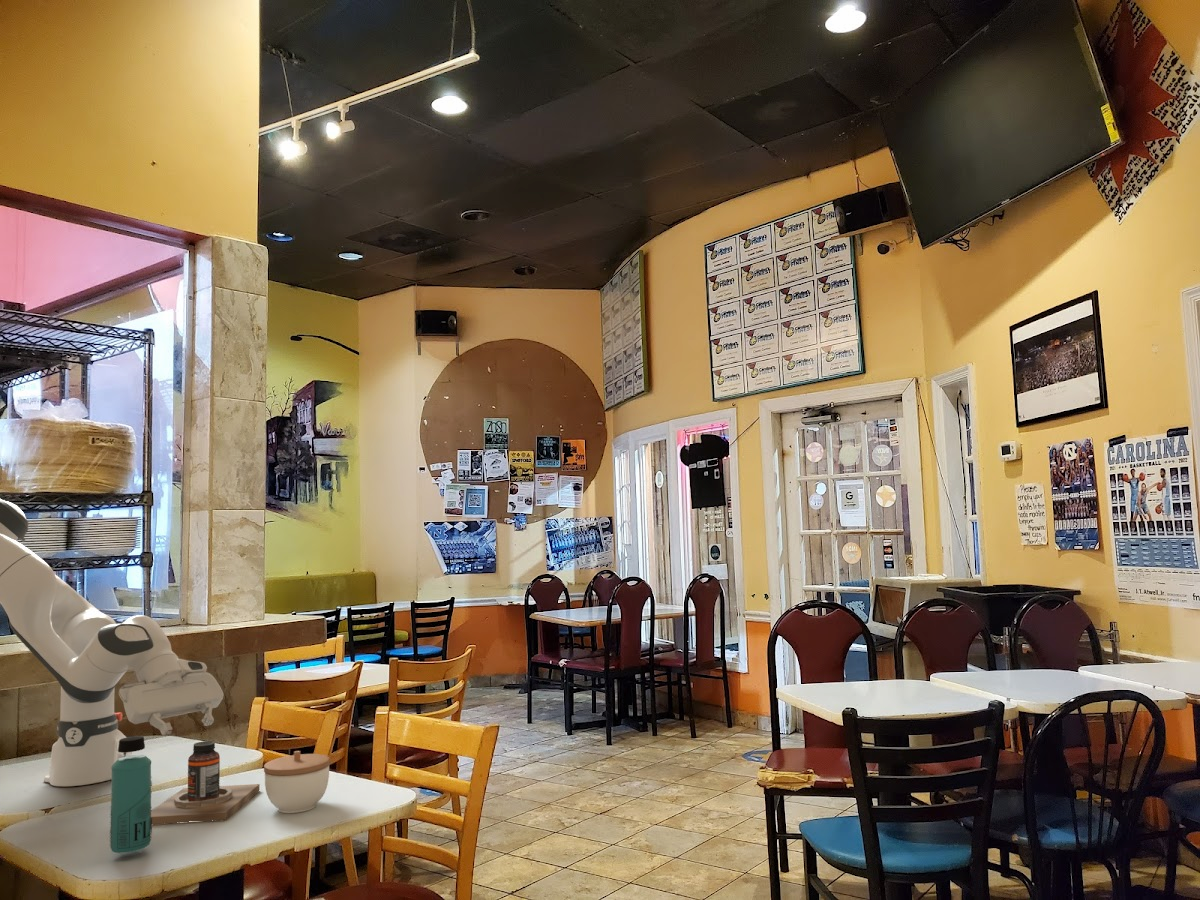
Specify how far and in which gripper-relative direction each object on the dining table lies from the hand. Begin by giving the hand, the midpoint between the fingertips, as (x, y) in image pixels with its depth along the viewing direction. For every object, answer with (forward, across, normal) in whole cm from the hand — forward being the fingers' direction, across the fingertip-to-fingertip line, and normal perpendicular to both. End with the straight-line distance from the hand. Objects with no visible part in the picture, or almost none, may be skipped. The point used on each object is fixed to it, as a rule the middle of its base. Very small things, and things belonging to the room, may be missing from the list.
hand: (189, 727), depth 185 cm
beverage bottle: (+26, -24, -4) cm, 35 cm away
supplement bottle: (+14, -1, +5) cm, 15 cm away
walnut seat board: (+15, -1, +6) cm, 17 cm away
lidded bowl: (+29, +8, -7) cm, 31 cm away
